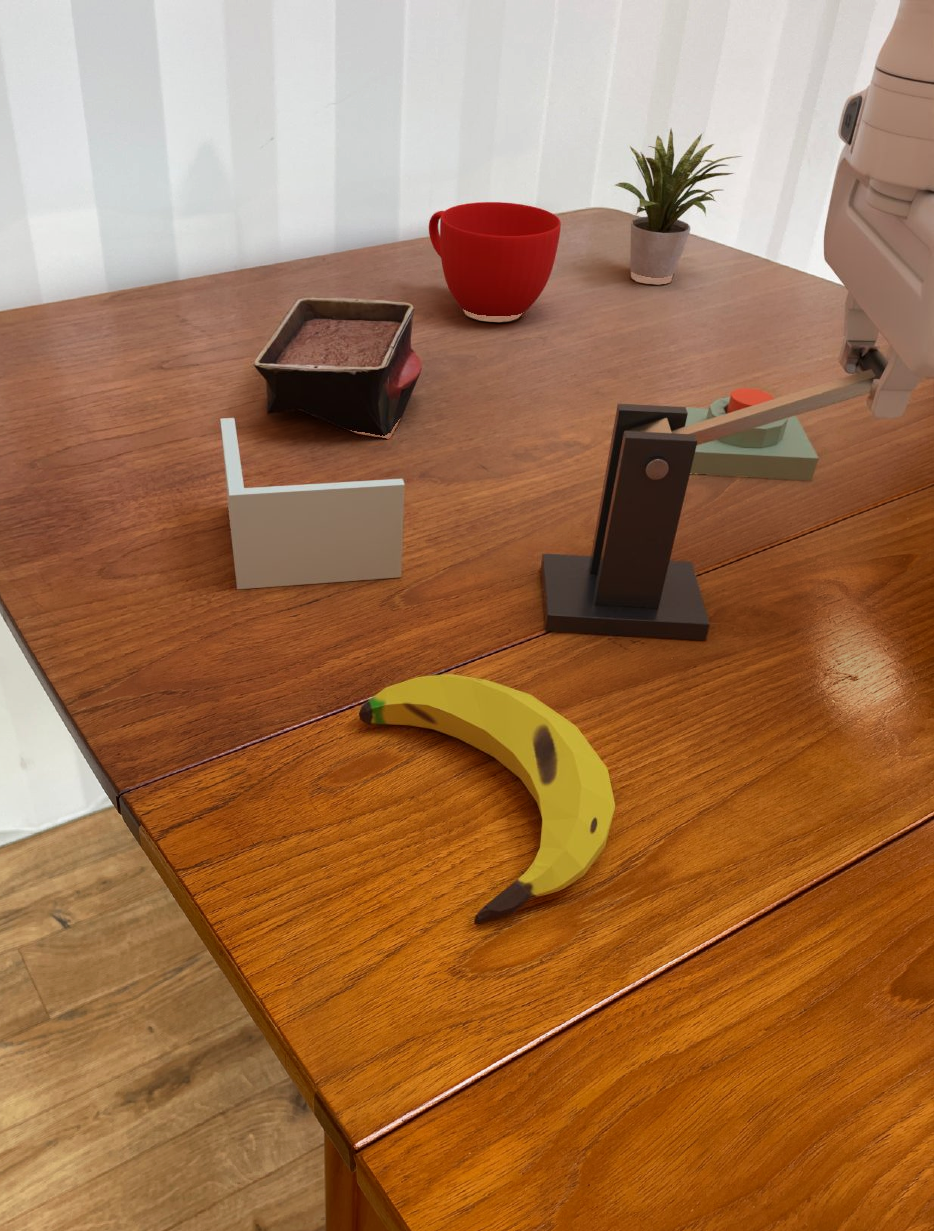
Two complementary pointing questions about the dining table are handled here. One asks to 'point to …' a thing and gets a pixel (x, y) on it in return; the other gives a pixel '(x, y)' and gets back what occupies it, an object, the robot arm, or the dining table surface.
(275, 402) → the baking dish
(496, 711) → the banana
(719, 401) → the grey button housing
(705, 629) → the hinged bracket stand
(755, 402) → the power button
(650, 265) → the house plant
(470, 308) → the ceramic cup
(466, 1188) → the dining table surface
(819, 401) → the lever switch
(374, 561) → the right angle wall
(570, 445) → the dining table surface
